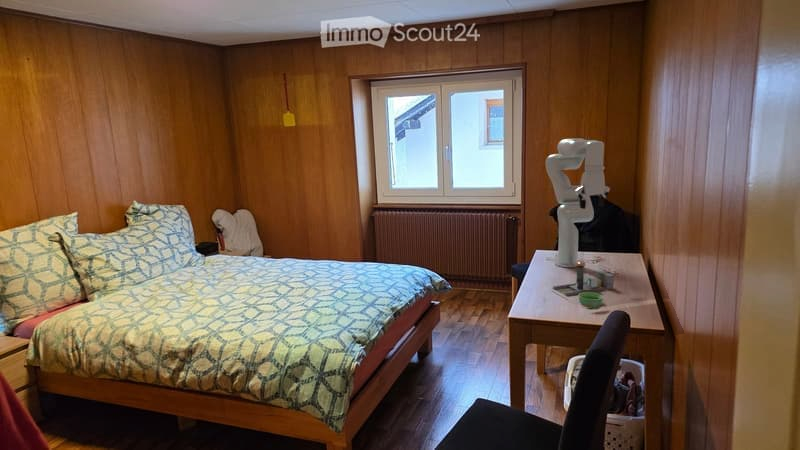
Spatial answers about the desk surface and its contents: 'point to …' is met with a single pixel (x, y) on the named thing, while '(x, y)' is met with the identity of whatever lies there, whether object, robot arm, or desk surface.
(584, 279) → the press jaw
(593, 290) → the press frame
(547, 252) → the desk surface
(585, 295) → the ramekin
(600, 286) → the beige rounded dome
